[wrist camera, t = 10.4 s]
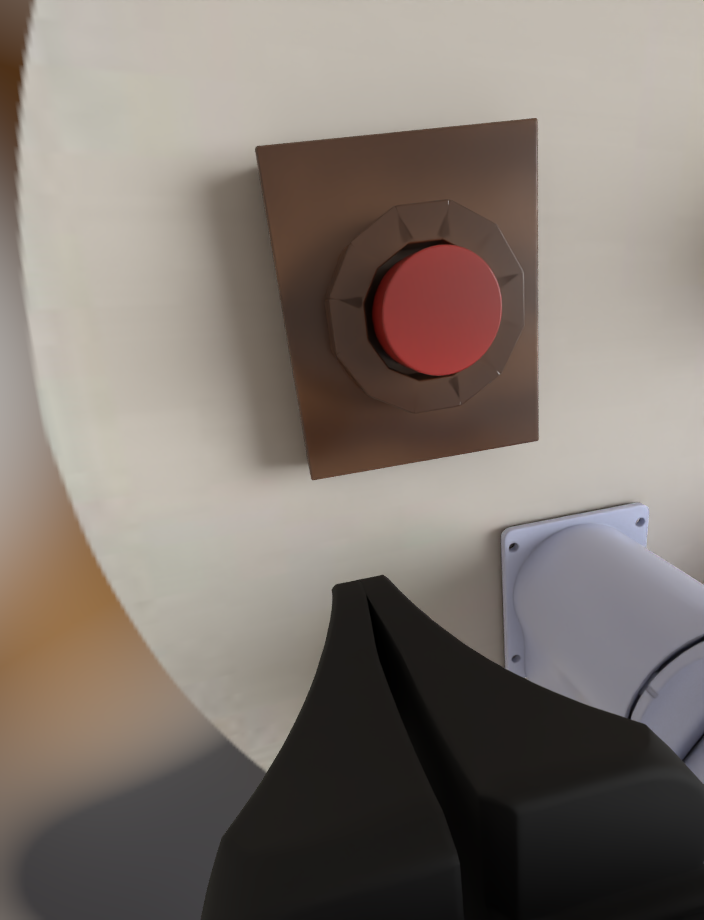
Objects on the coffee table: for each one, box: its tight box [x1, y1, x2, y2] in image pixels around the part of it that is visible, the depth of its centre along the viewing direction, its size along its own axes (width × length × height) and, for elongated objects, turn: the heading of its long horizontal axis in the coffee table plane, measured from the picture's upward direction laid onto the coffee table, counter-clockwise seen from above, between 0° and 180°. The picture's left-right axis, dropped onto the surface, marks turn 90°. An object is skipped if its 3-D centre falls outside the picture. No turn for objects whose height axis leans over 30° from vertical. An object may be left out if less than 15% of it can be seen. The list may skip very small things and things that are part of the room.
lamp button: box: [372, 244, 502, 376], centre depth 15 cm, size 4×4×2 cm
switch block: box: [255, 118, 539, 480], centre depth 18 cm, size 12×10×4 cm
